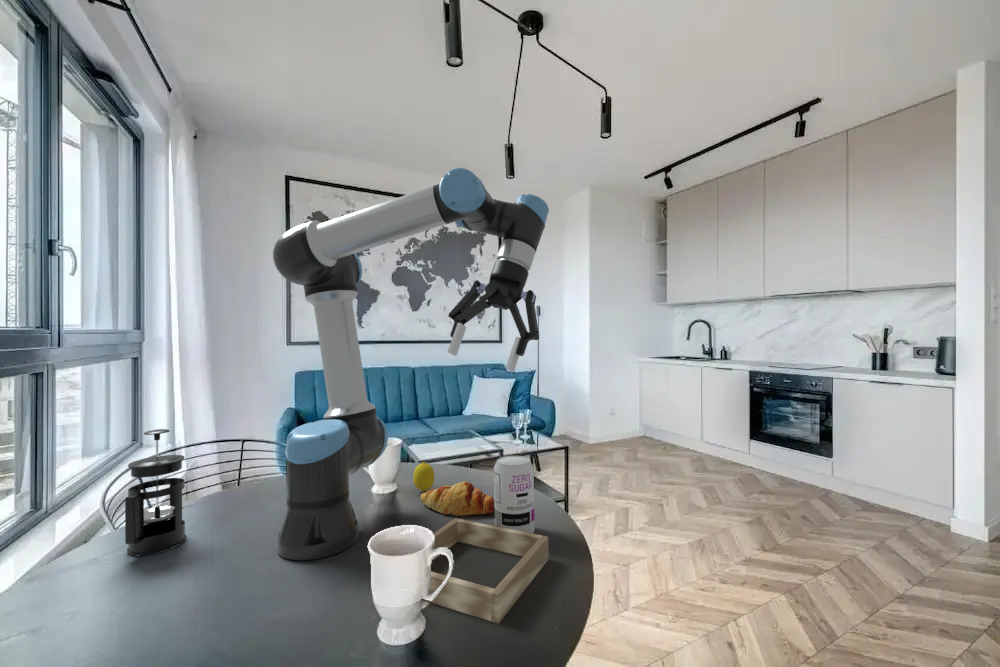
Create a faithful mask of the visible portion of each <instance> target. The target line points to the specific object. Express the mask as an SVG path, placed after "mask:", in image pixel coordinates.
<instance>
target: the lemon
mask: <svg viewBox="0 0 1000 667" xmlns="http://www.w3.org/2000/svg"><path fill="white" fill-rule="evenodd" d="M412 480H413V484H414V487H415V488H416V489H417V490H419V491H421V492H422V491H423V492H422V493H426V492H428V491H429V490H431V488H432V487H433V485H434V483H435V471H434V469H433V466H432V465H431V464H430V463H426V462H425V461H423V462H421V463H420V464H418V465H417V466H416V467H415V469H414V472H413V478H412ZM425 491H426V492H425Z"/></svg>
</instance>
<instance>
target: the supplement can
mask: <svg viewBox="0 0 1000 667" xmlns="http://www.w3.org/2000/svg"><path fill="white" fill-rule="evenodd" d="M534 475H535V474H534V465H533V464H532V462H531V459H530V458H529V457H527V456H522V455H507V456H500V457H499V458H497V459H496V462H495V464H494V466H493V499H494V526H497V527H502V528H507V529H512V530H517V531H522V532H527V533H533V534H535V529H536V528H535V526H536V524H535V485H534V483H535V482H534V481H535V479H534V478H535V477H534Z"/></svg>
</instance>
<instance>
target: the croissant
mask: <svg viewBox="0 0 1000 667" xmlns="http://www.w3.org/2000/svg"><path fill="white" fill-rule="evenodd" d="M419 499H420V501H421V502H422V503H423V504H424V505H426V507H428V508H429V509H431V508H432V510H434V511H435V512H438V513H440V514H442V513H443V514H442V515H447V514H452V515H451V516H454V515H456V517H463V516H471V515H474V514H475V516H477V515H479V516H480V515H487V514H492V513H493V512H494V496H492V495H490V494H485V493H483V491H482V490H481V488H478V487H475V486H474V485H473V483H472V482H470V481H469V482H468V481H466V480H463V481H461V482H457V483H455V484H453V485H442V486H440V487H438V488H434V489H428V490H427V491H426V492H422V493H421V494H420V498H419Z"/></svg>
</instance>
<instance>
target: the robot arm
mask: <svg viewBox="0 0 1000 667" xmlns="http://www.w3.org/2000/svg"><path fill="white" fill-rule="evenodd" d="M549 209H550V208H549V206H548V204H547V202H546V201H545V200H544V199H543V198H541V197H539V196H538V195H535V194H531V193H528V194H521V195H519V196H518V197H517V198H516V200H515V202H508V201H502V200H499V199H496V198H493V197H492V196H491V194H490V193H489V192H488V190H487V189H486V187H485V185H484V184H483V181H482V180H481V179H480V178H479V177H478V176H477V175H476V174H475V173H474V172H473V171H472V170H469V169H467V168H465V167H464V168H463V167H456V168H453V169H450V170H449V171H448V172H447V173H445V174H444V176H442V178H441V180H440V182H439V183H437V184H435V185H431V186H429V187H426V188H422V189H420V190H416V191H414V192H411V193H408V194H405V195H402V196H399V197H396V198H393V199H389V200H388V201H384V202H381V203H378V204H375V205H372V206H368V207H367V208H364V209H363V208H362V209H360V210H357V211H354V212H352V213H348V214H345V215H342V216H339V217H336V218H333V219H330V220H328V221H327V220H326V221H324V222H322V221H319V220H310V221H308V222H305V223H301V224H299V225H296V226H294V227H292V228H290V229H288V230H287V231H285V232H283V234H281V235H280V236H279V238H278V239H277V240H276V241H275V244H274V247H273V250H272V251H273V252H272V258H273V263H274V266H275V268H276V270H277V271H278V273H279V274H280V275H281V276H282V278H284V279H285V280H287V281H289V282H291V283H292V284H296V285H300V286H303V289H304V290H303V291H304V297H305V301H306V302H308V303H310V304H311V305H312V306H313V309H314V316H315V322H316V328H317V329H316V330H317V334H318V335H317V337H318V342H319V350H320V355H321V362H322V370H323V376H324V383H325V388H326V396H327V402H328V409H327V410H326V412H325V413H324V415H323V419H320V420H315V421H314V422H307V423H304V424H302V425H299V426H296V427H295V428H293V429H292V430H291V431H290V432H289V434H288V435H287V437H286V445H285V447H286V448H285V452H284V455H285V457H284V458H285V467H286V468H285V471H286V472H285V474H286V476H285V477H286V478H285V479H286V480H285V481H286V483H285V484H286V510H285V512H284V513H285V514H284V516H283V519H282V522H281V523H282V524H281V527H280V531H279V533H278V536H277V539H276V552H277V554H278V555H279V556H280V557H282V558H284V559H285V560H286V559H287V560H292V561H311V560H312V561H313V560H317V559H322V558H323V559H324V558H327V557H330V556H333V555H336V554H339V553H341V552H344V551H345V550H347V549H349V548H350V547H352V546H353V545H355V543H357V541H358V539H359V537H360V528H359V527H360V526H359V521H358V519H357V518H356V513H355V511H354V508H353V505H352V502H351V499H350V476H353V475H354V474H355V473H357V472H358V471H360V470H363V468H367V467H369V466H371V465H373V464H374V463H375V462H376V461H377V460H378V459H379V458H380V457H381V456H383V454H384V452H385V451H386V448H387V446H388V441H389V433H388V432H389V431H388V428H387V425H386V423H385V422H384V421H383V420H382V419H381V418H380V417H379V416H378V415H377V409H376V405H374V404H373V403H372V402H370V401H369V400H368V394H367V390H366V389H367V388H366V382H365V381H366V380H365V375H364V371H363V370H364V369H363V364H362V362H363V361H362V356H361V350H360V343H359V337H358V330H357V325H356V324H357V323H356V318H355V310H354V306H353V304H354V303H353V301H354V300H355V298H356V297H357V296H358V293H359V291H358V285H359V282H360V281H361V279H362V276H363V266H362V263H361V262H362V261H361V259H360V258H359V256H358V253H361V252H364V251H367V250H370V249H372V248H377V247H379V246H382V245H385V244H389V243H391V242H395V241H398V240H401V239H404V238H408V237H411V236H414V235H417V234H420V233H423V232H426V231H429V230H432V229H435V228H438V227H442V226H444V225H448V224H453V223H455V225H456V226H458V227H460V228H463V229H467V231H471V232H472V231H474V232H477V233H483V234H486V235H491V236H495V237H498V238H502V241H501V244H500V247H499V250H498V252H497V255H496V259H495V260H496V261H495V262H494V264H493V266H492V269H491V272H490V276H489V280H488V282H487V283H486V284H485V283H482V282H481V281H480V280H476V279H475V281H473V284H472V286H471V288H470V289H469V290H468V291H467V292H466V294H465V295H464V296H463V297H462V298H461V299H460V300H459V302H458V303H457V304H455V306H454V307H453V308H452V309H451V311H450V312H448V318H450V319H451V320H453V325H452V329H451V331H450V334H449V335H450V338H451V341H450V343H449V346H448V348H447V353H449V354H450V355H453V356H454V357H457V356H458V353H459V350H460V346H461V344H462V341H463V339H464V336H465V333H466V330H467V326H466V324H467V323H468V322H470V321H471V320H472V319H474V318H475V317H476V316H478V315H479V314H481V313H482V312H484V311H485V310H486V309H489V308H491V307H493V308H494V309H495V308H496V309H502V310H505V311H508V310H509V311H510V313H511V316H512V318H513V321H514V324H515V326H516V328H517V331H518V333H519V336H515V338H514V342H513V344H512V348H511V350H510V354H509V357H508V360H507V363H506V366H505V369H506V370H508V371H509V372H511V373H512V372H513V373H514V372H515V370H516V366H517V365H518V364H517V363H518V360H519V358H520V357H524V355H525V352H526V350H527V347H528V343H529V342H530V341H534V340H535V341H538V340H539V339H540V333H539V332H540V331H539V326H538V325H539V324H538V320H537V319H538V318H537V312H536V299H537V295H536V294H535V293H534V291H533V290H531V289H529V290H527V291H524V288H525V287H526V284H527V280H528V277H529V274H530V273H529V271H530V270H531V268H532V265H533V262H534V259H535V256H536V252H537V250H538V246H539V244H540V241H541V239H542V235H543V232H544V230H545V227H546V223H547V219H548V215H549V211H550V210H549ZM484 292H485V294H484ZM481 294H483V295H482V296H480V295H481ZM477 299H478V300H477ZM522 299H523V301H524V304H525V312H526V317H527V324H528V330H527V327H526V324H525V321H524V320H523V317H522V315H521V312H520V309H519V307H518V305H517V304H518V303H519V302H520V301H521V300H522ZM476 300H477V301H476ZM475 301H476V302H475Z"/></svg>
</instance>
